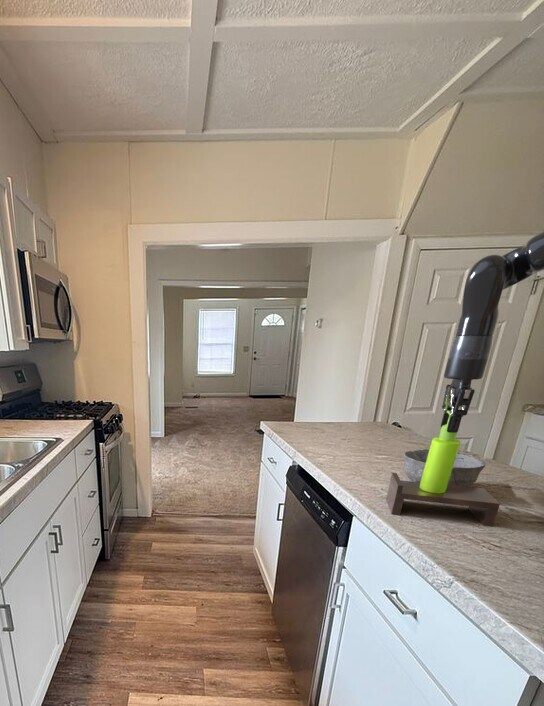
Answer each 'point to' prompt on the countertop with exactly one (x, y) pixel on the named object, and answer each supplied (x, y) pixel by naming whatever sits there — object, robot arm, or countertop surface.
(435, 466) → the soap dispenser
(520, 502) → the countertop surface
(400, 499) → the shelf
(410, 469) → the bowl
